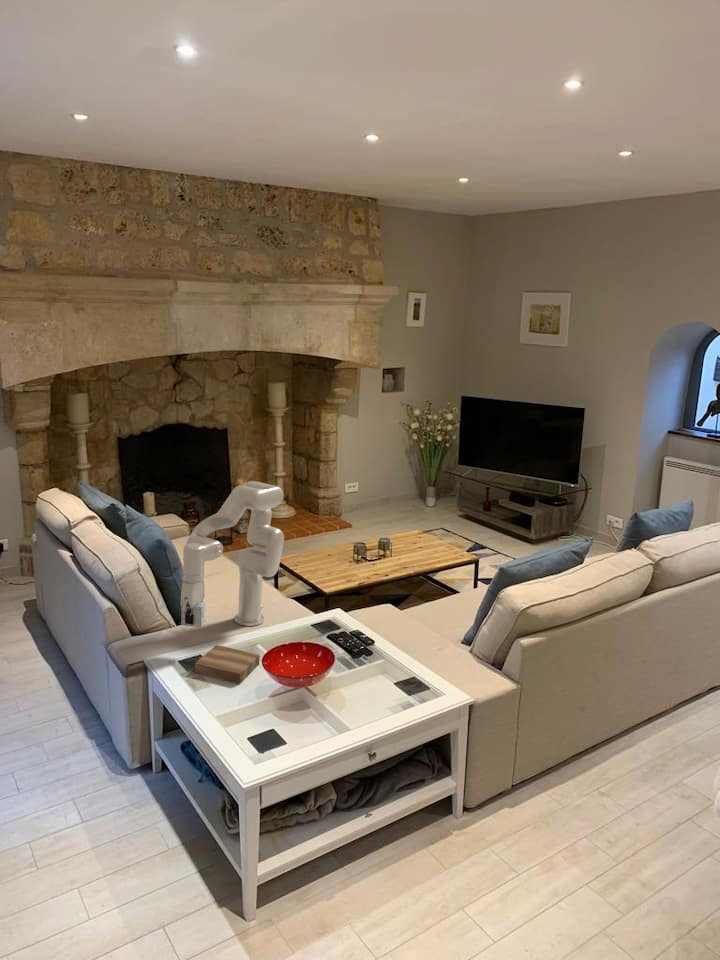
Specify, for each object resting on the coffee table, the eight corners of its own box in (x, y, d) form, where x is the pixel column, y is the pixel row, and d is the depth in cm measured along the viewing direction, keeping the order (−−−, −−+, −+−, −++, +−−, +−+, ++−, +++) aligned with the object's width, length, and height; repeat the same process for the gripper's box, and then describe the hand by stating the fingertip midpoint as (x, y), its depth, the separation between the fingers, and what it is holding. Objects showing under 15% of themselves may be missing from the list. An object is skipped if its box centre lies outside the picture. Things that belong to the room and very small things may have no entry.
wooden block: (216, 654, 277) (216, 644, 276) (259, 664, 272) (259, 654, 271) (194, 673, 262) (195, 663, 261) (239, 684, 257) (240, 674, 256)
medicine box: (205, 622, 276) (205, 601, 274) (201, 628, 272) (201, 606, 269) (185, 620, 277) (185, 599, 274) (181, 625, 272) (181, 604, 270)
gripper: (196, 566, 278) (195, 609, 283) (172, 582, 262) (172, 628, 267) (213, 569, 276) (213, 613, 281) (190, 586, 260) (190, 632, 265)
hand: (193, 620), depth 274 cm, fingers closed on medicine box, 5 cm apart
